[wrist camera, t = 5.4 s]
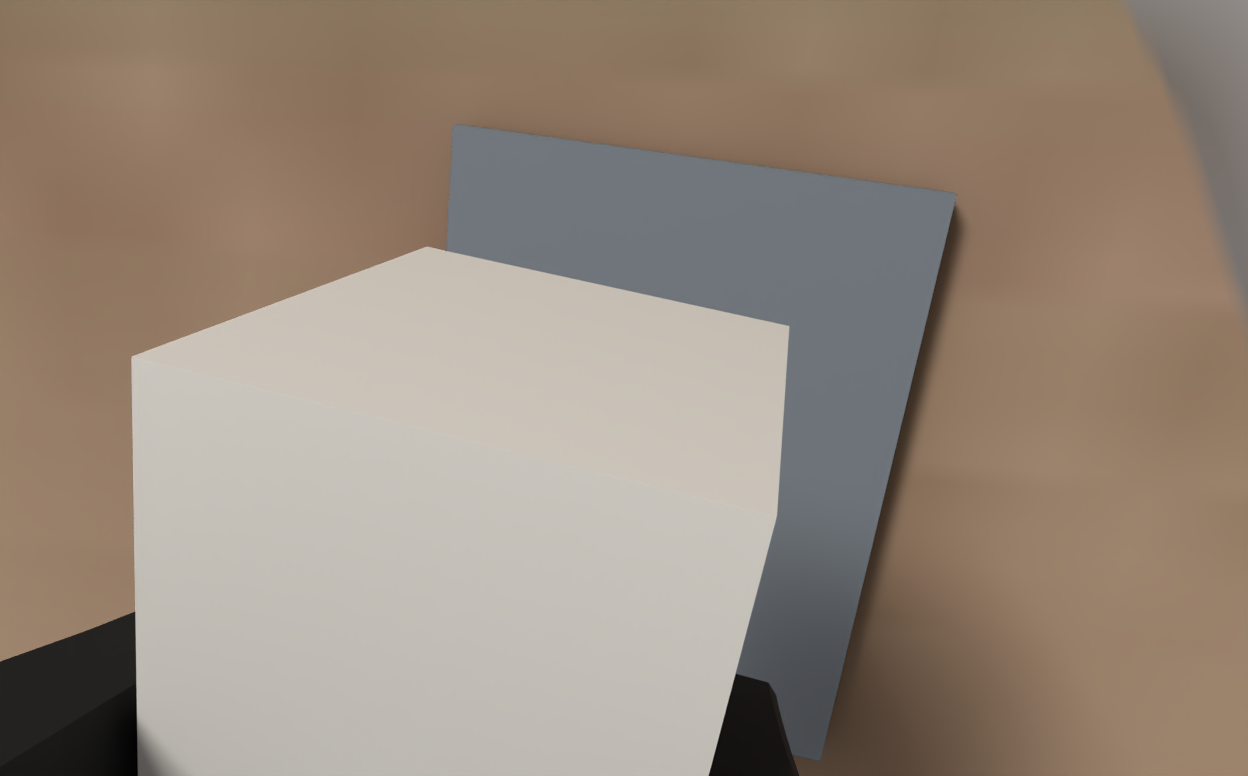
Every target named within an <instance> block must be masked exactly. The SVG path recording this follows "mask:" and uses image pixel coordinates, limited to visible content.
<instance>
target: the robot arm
mask: <svg viewBox="0 0 1248 776" xmlns="http://www.w3.org/2000/svg"><path fill="white" fill-rule="evenodd" d="M0 776H138V753H137V687H136V621H135V612H133V613H131V614H128V615H125V616H123V617H120V618H118V619H115V620H113V621H110V622H108V623H105V624H103V625H100V626H98V627H95V628H92V629H90V630H87V631H85V632H82V633H79V634H76V635H73V636H71V637H68V638H65V639H62V640H59V641H57V642H54V643H51V644H48V645H45V646H43V647H40V648H37V649H34V650H31V651H29V652H26V653H23V654H20V655H17V656H15V657H12V658H9V659H6V660H3V661H1V662H0ZM709 776H799V774H798V771H797V768H796V765H795V762H794V759H793V756H792V752H791V749H790V746H789V743H788V739H787V736H786V732H785V729H784V725H783V722H782V718H781V714H780V710H779V706H778V701H777V696H776V694H775V692H774V691H773V689H772V687H771V686H770V684H769V683H768V682H765V681H761V680H757V679H754V678H750V677H746V676H743V675H739V674H735V677H734V681H733V685H732V689H731V693H730V696H729V700H728V704H727V708H726V712H725V715H724V719H723V723H722V727H721V731H720V734H719V738H718V742H717V746H716V750H715V753H714V757H713V761H712V765H711V769H710V772H709Z"/></svg>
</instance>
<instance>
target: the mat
mask: <svg viewBox="0 0 1248 776" xmlns="http://www.w3.org/2000/svg"><path fill="white" fill-rule="evenodd" d="M956 196H957V194H955V193H953V192H946V191H939V190H932V189H925V188H917V187H910V186H903V185H896V184H888V183H881V182H874V181H867V180H859V179H852V178H845V177H838V176H831V175H823V174H816V173H809V172H802V171H794V170H787V169H780V168H773V167H765V166H758V165H751V164H744V163H736V162H729V161H722V160H715V159H707V158H700V157H693V156H686V155H678V154H671V153H664V152H657V151H649V150H642V149H635V148H628V147H620V146H613V145H606V144H599V143H591V142H584V141H577V140H570V139H562V138H555V137H548V136H541V135H534V134H526V133H519V132H512V131H505V130H497V129H490V128H483V127H476V126H468V125H453V135H452V154H451V172H450V191H449V209H448V228H447V247H446V251H449V252H453V253H458V254H462V255H467V256H471V257H476V258H481V259H485V260H490V261H494V262H499V263H503V264H508V265H513V266H517V267H522V268H526V269H531V270H535V271H540V272H545V273H549V274H554V275H558V276H563V277H567V278H572V279H577V280H581V281H586V282H590V283H595V284H599V285H604V286H609V287H613V288H618V289H622V290H627V291H631V292H636V293H641V294H645V295H650V296H654V297H659V298H663V299H668V300H673V301H677V302H682V303H686V304H691V305H695V306H700V307H704V308H709V309H714V310H718V311H723V312H727V313H732V314H736V315H741V316H746V317H750V318H755V319H759V320H764V321H768V322H773V323H778V324H782V325H787V326H789V340H788V355H787V370H786V386H785V401H784V416H783V432H782V447H781V462H780V478H779V493H778V508H777V518H776V522H775V526H774V529H773V533H772V537H771V541H770V545H769V548H768V552H767V556H766V560H765V564H764V567H763V571H762V575H761V579H760V583H759V586H758V590H757V594H756V598H755V601H754V605H753V609H752V613H751V617H750V620H749V624H748V628H747V632H746V636H745V639H744V643H743V647H742V651H741V655H740V658H739V662H738V666H737V670H736V674H739V675H743V676H746V677H750V678H754V679H757V680H761V681H765V682H768V683H769V684H770V686H771V687H772V689H773V691H774V692H775V694H776V696H777V701H778V706H779V710H780V714H781V718H782V722H783V725H784V729H785V732H786V736H787V739H788V743H789V746H790V749H791V752H792V755H794V756H798V757H803V758H807V759H811V760H815V761H820V760H821V756H822V752H823V748H824V744H825V740H826V735H827V731H828V727H829V723H830V719H831V715H832V711H833V706H834V702H835V698H836V694H837V690H838V686H839V682H840V677H841V673H842V669H843V665H844V661H845V657H846V652H847V648H848V644H849V640H850V636H851V632H852V628H853V623H854V619H855V615H856V611H857V607H858V603H859V598H860V594H861V590H862V586H863V582H864V578H865V574H866V569H867V565H868V561H869V557H870V553H871V549H872V545H873V540H874V536H875V532H876V528H877V524H878V520H879V515H880V511H881V507H882V503H883V499H884V495H885V491H886V486H887V482H888V478H889V474H890V470H891V466H892V461H893V457H894V453H895V449H896V445H897V441H898V437H899V432H900V428H901V424H902V420H903V416H904V412H905V407H906V403H907V399H908V395H909V391H910V387H911V383H912V378H913V374H914V370H915V366H916V362H917V358H918V354H919V349H920V345H921V341H922V337H923V333H924V329H925V324H926V320H927V316H928V312H929V308H930V304H931V300H932V295H933V291H934V287H935V283H936V279H937V275H938V270H939V266H940V262H941V258H942V254H943V250H944V246H945V241H946V237H947V233H948V229H949V225H950V221H951V217H952V212H953V208H954V204H955V200H956Z"/></svg>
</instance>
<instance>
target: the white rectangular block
mask: <svg viewBox="0 0 1248 776" xmlns="http://www.w3.org/2000/svg"><path fill="white" fill-rule="evenodd" d="M788 340H789V326H787V325H782V324H778V323H773V322H768V321H764V320H759V319H755V318H750V317H746V316H741V315H736V314H732V313H727V312H723V311H718V310H714V309H709V308H704V307H700V306H695V305H691V304H686V303H682V302H677V301H673V300H668V299H663V298H659V297H654V296H650V295H645V294H641V293H636V292H631V291H627V290H622V289H618V288H613V287H609V286H604V285H599V284H595V283H590V282H586V281H581V280H577V279H572V278H567V277H563V276H558V275H554V274H549V273H545V272H540V271H535V270H531V269H526V268H522V267H517V266H513V265H508V264H503V263H499V262H494V261H490V260H485V259H481V258H476V257H471V256H467V255H462V254H458V253H453V252H449V251H444V250H439V249H435V248H430V247H425V248H422V249H419V250H417V251H414V252H411V253H409V254H406V255H403V256H401V257H398V258H395V259H392V260H390V261H387V262H384V263H382V264H379V265H376V266H374V267H371V268H368V269H366V270H363V271H360V272H358V273H355V274H352V275H350V276H347V277H344V278H341V279H339V280H336V281H333V282H331V283H328V284H325V285H323V286H320V287H317V288H315V289H312V290H309V291H307V292H304V293H301V294H299V295H296V296H293V297H290V298H288V299H285V300H282V301H280V302H277V303H274V304H272V305H269V306H266V307H264V308H261V309H258V310H256V311H253V312H250V313H248V314H245V315H242V316H239V317H237V318H234V319H231V320H229V321H226V322H223V323H221V324H218V325H215V326H213V327H210V328H207V329H205V330H202V331H199V332H197V333H194V334H191V335H188V336H186V337H183V338H180V339H178V340H175V341H172V342H170V343H167V344H164V345H162V346H159V347H156V348H154V349H151V350H148V351H146V352H143V353H140V354H137V355H135V356H132V357H131V358H132V424H133V490H134V555H135V621H136V687H137V753H138V776H709V772H710V769H711V765H712V761H713V757H714V753H715V750H716V746H717V742H718V738H719V734H720V731H721V727H722V723H723V719H724V715H725V712H726V708H727V704H728V700H729V696H730V693H731V689H732V685H733V681H734V677H735V674H736V670H737V666H738V662H739V658H740V655H741V651H742V647H743V643H744V639H745V636H746V632H747V628H748V624H749V620H750V617H751V613H752V609H753V605H754V601H755V598H756V594H757V590H758V586H759V583H760V579H761V575H762V571H763V567H764V564H765V560H766V556H767V552H768V548H769V545H770V541H771V537H772V533H773V529H774V526H775V522H776V518H777V508H778V493H779V478H780V462H781V447H782V432H783V416H784V401H785V386H786V370H787V355H788Z"/></svg>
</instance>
